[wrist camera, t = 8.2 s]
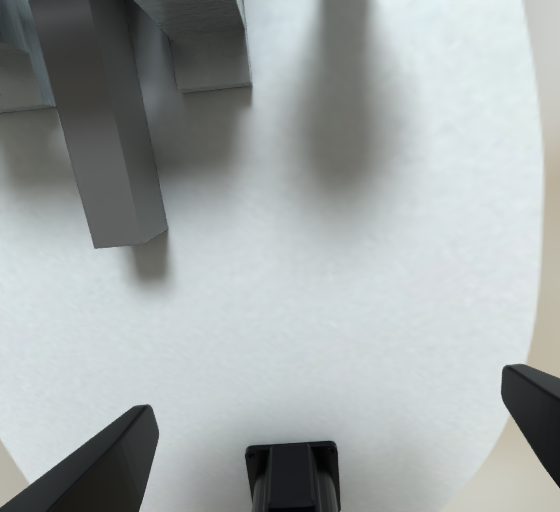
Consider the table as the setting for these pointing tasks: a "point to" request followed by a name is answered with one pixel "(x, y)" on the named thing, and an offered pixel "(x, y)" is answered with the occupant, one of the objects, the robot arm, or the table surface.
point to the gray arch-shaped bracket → (167, 15)
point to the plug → (102, 117)
